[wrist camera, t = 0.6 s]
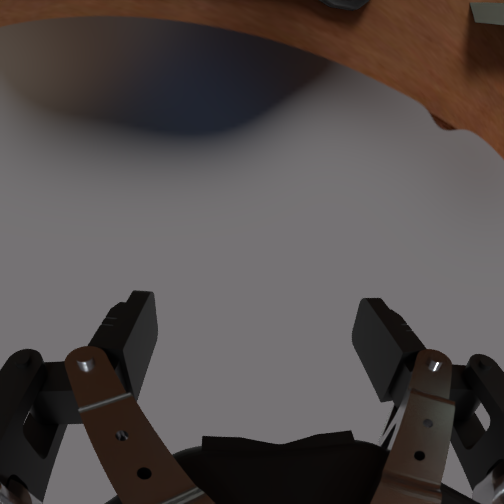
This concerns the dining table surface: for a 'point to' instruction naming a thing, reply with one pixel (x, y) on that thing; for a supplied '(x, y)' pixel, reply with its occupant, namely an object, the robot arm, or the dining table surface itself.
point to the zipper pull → (345, 4)
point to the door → (488, 13)
